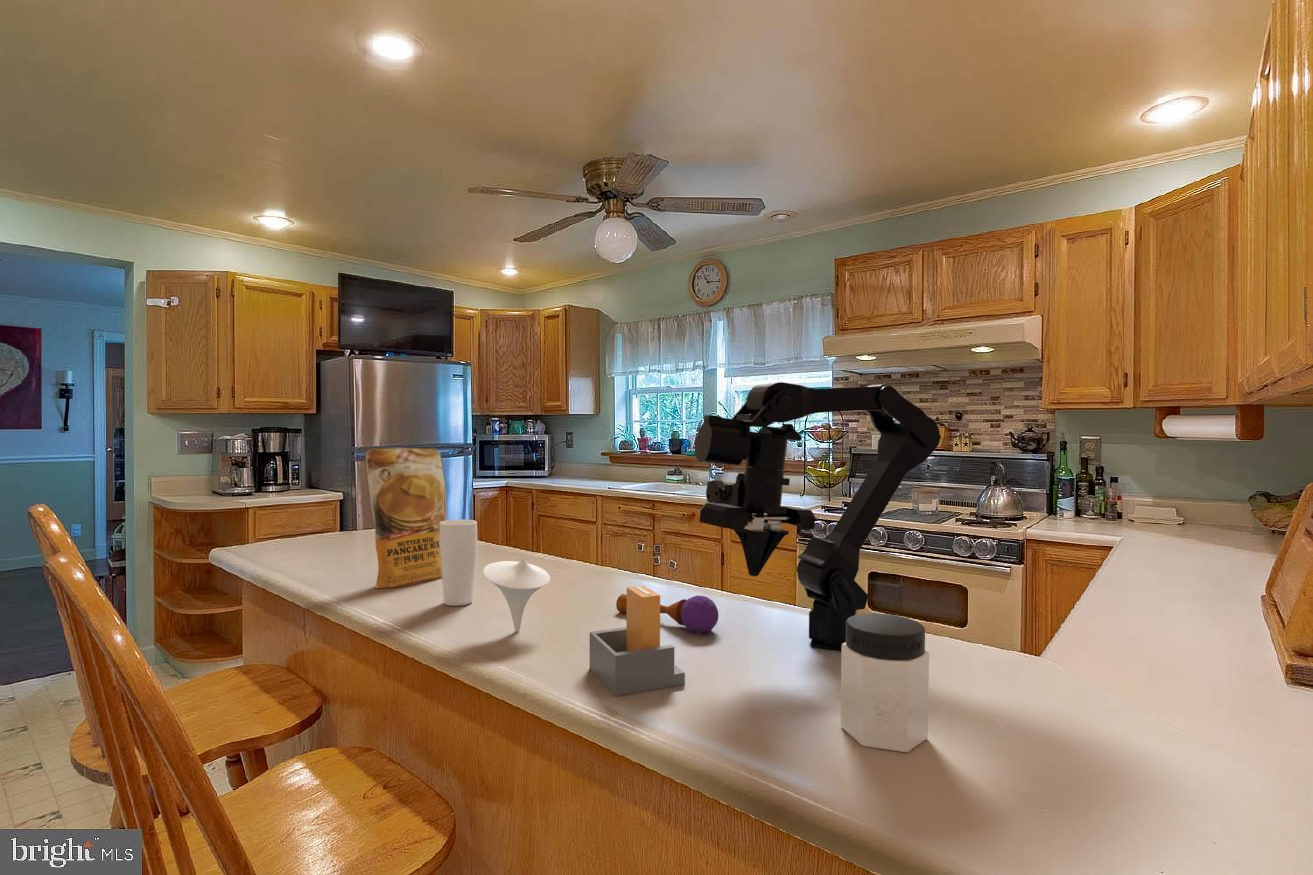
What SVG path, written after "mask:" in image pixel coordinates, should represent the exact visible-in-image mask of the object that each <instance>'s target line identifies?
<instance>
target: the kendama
mask: <svg viewBox="0 0 1313 875" xmlns="http://www.w3.org/2000/svg"><path fill="white" fill-rule="evenodd" d="M615 606H616V610H617V612H618V613H620V614H627V593H626V594H625V593H622V594H619V596H618V598H617V600H616V603H615ZM660 614H667V615H668V616H669V617H670V618H671V619H672V620H673V621H675V622H676V623H677V624H678V625H679V626H681V627H682V626H683V627H685V629H686V630H688V631H689V632H690V633H694V634H699V635H704V634H706V633H709V632H711V631H712V630H714V628H715V626H717V623H718V621H719V610H718V607H717V605H716V603H715V602H714V601H713V600H712V599H711V598H710V597H707V596H705V595H699V594H698V595H694V596H691V597H690V598H688V599H685V598H683V599H681V600H679V601H676V602H675V603H672V604H670V605H663V604H660Z"/></svg>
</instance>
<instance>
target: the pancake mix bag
mask: <svg viewBox="0 0 1313 875" xmlns="http://www.w3.org/2000/svg"><path fill="white" fill-rule="evenodd" d="M437 450H438V448H437V447H413V448H412V447H379V448H378V447H377V448H370V449H368V450H367V451H366V452H364V454H365V455H364V458H365V460H364V462H365V471H366V472H365V474H366V476H365V477H366V479H367V485H368V492H369V493H368V494H369V502H370V505H369V506H370V508H371V513H372V514H371V515H372V518H373V523H374V534H375V535H374V539H375V540H374V541H375V544H374V545H375V551H376V555H377V564H378V566H377V567H378V568H377V576H376V581H375V586H374V588H375V589H393V588H398V587H405V586H410V585H415V584H419V583H424V582H428V581H429V582H430V581H434V580H438V579H439V580H440V579H442V572H441V561H440V550H439V523H440V522H442V521H447V518H448V517H447V516H448V515H447V514H448V504H447V486H446V478H445V473H444V462H443V459H442V458H443V457H442V452H441V451H437Z"/></svg>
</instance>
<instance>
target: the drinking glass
mask: <svg viewBox="0 0 1313 875" xmlns="http://www.w3.org/2000/svg"><path fill="white" fill-rule="evenodd" d="M439 550H440V561H441V572H442V578H441V580H442V592H443V593H442V599H443V600H442V601H443V604H444V605H446V606H450V607H461V606H467V605H469V604H472V603H473V601H474V589H475V588H474V587H475V575H476V574H475V573H476V565H477V564H476V563H477V550H478V521H477V520H473V519H463V518H462V519H460V518H458V519H449V520H447V521H442V522H440V523H439Z"/></svg>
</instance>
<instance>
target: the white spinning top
mask: <svg viewBox="0 0 1313 875" xmlns="http://www.w3.org/2000/svg"><path fill="white" fill-rule="evenodd" d="M482 576H483V577H484V578H485V579H486V580H487V581H489V582H490V583H491V584H493V585H494V586H495V587H496V588H498V589H499V591H500V592H501V593H502V595H503V596H504V598H505V600H506V602H507V605H508V608H509V611H510V614H511V615H510V616H511V620H512V623H513V627H514V631H515V632H517V633H518V632H520V630H521V625H522V620H523V614H524V611H525V607H526V605H527V604H528V601H529V599H531V597H532V596H533V594H535V593H536V592H537V591H539V589H541V588H543V587H545V586H547V585H548V584H549V583H550V582H551V575H550V574H549V573H548V571H546V570H545V569H543V568H541V567H539V566H538V565H535V564H531V563H529V562H527V561H526V558H525V557H522V558H521V560H520V561H514V560H501V561H495V562H491V563H490V564H487V565H486V566H484V568H483V569H482Z"/></svg>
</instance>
